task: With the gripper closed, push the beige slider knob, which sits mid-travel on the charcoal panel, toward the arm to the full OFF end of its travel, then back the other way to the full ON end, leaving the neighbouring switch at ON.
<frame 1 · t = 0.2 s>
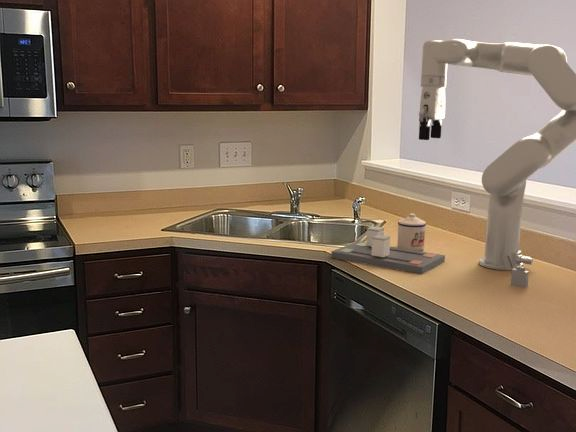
hand: (429, 138, 202), 36 cm above the worktop, tool pointing down, fingers open, 9 cm apart
lighter: (513, 285, 177), on the worktop
teacup with lid: (413, 248, 216), on the worktop
beige slider knob: (380, 245, 196), point 5 cm above the worktop, slide at 0.0 cm
on switch: (375, 236, 208), point 5 cm above the worktop, slide at 7.0 cm
panel: (387, 259, 201), on the worktop
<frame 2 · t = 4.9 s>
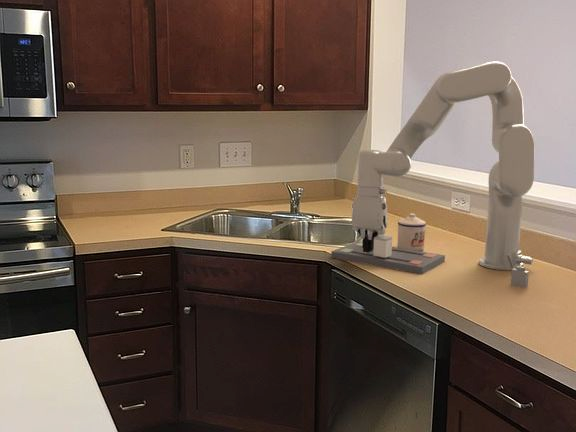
hand: (367, 251, 199), 3 cm above the worktop, tool pointing down, fingers closed
beige slider knob: (382, 246, 195), point 5 cm above the worktop, slide at -0.7 cm, touching gripper
everything else where it was.
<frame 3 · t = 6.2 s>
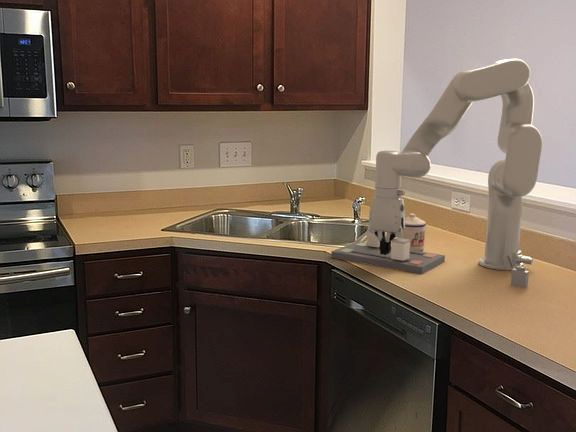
hand: (384, 253, 195), 3 cm above the worktop, tool pointing down, fingers closed
beige slider knob: (400, 249, 192), point 5 cm above the worktop, slide at -6.4 cm, touching gripper
everything else where it was.
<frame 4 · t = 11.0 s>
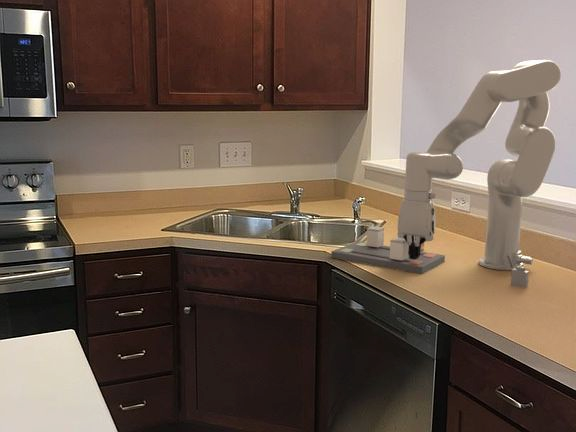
hand: (414, 258, 190), 3 cm above the worktop, tool pointing down, fingers closed
beige slider knob: (399, 248, 192), point 5 cm above the worktop, slide at -6.0 cm, touching gripper
everything else where it was.
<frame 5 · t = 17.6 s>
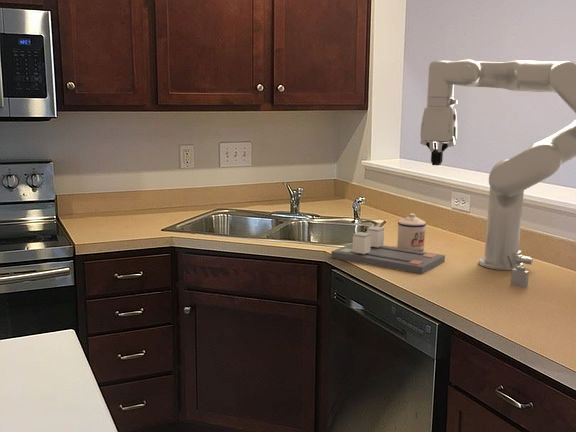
hand: (436, 164, 198), 29 cm above the worktop, tool pointing down, fingers closed
beige slider knob: (361, 242, 199), point 5 cm above the worktop, slide at 6.5 cm
everything else where it was.
at the end: beige slider knob slide at 6.5 cm; on switch slide at 7.0 cm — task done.
